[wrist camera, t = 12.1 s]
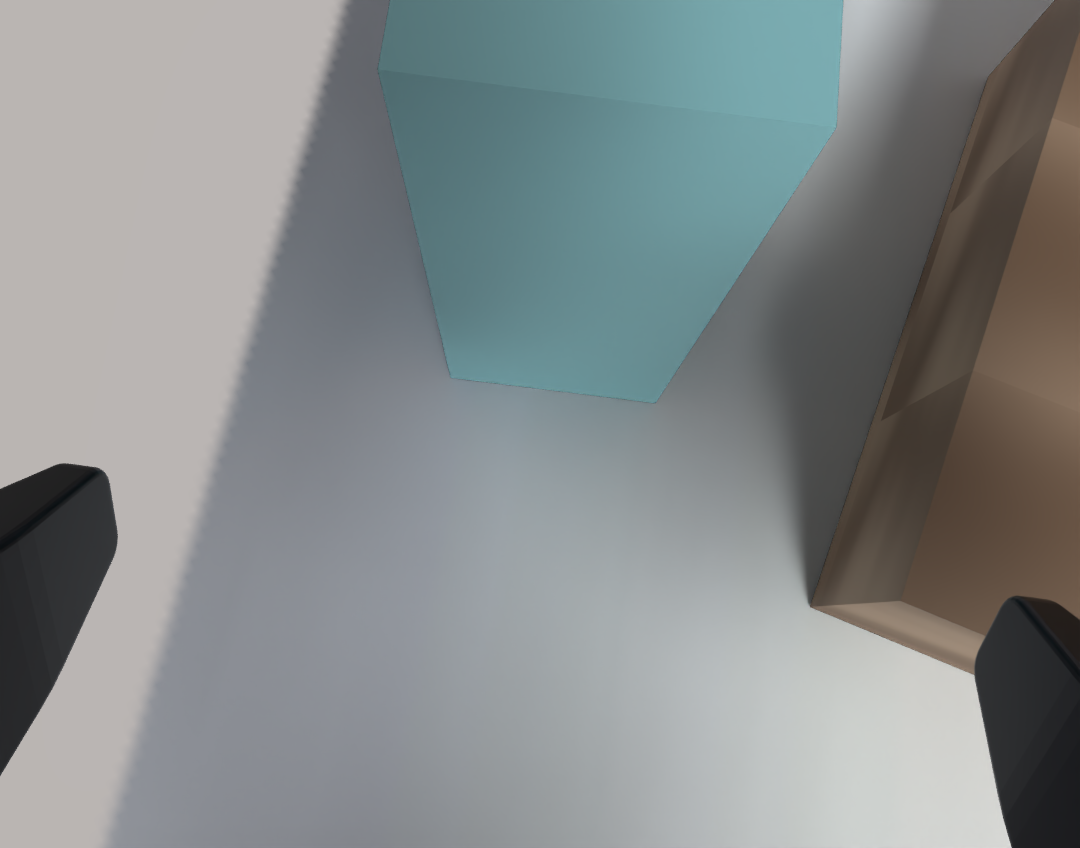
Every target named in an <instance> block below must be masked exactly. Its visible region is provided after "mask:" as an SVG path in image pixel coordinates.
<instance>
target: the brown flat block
mask: <svg viewBox="0 0 1080 848" xmlns="http://www.w3.org/2000/svg"><path fill="white" fill-rule="evenodd" d="M1017 595H1019V596H1026V597H1033V598H1041V599H1048V600H1052V601H1054V602H1057V603H1058V604H1060V605H1061V606H1063V607H1064V608H1065V609H1067V610H1068V611H1069V612H1070V613H1072V614H1073V615H1074V616H1076V617H1077V618H1078V619H1080V0H1055V1H1054V2H1053V3H1052V4H1051V5H1050V6H1049V7H1048V9H1047V10H1046V11H1045V12H1044V13H1043V14H1042V15H1041V17H1040V18H1039V19H1038V20H1037V21H1036V22H1035V24H1034V25H1033V26H1032V27H1031V28H1030V29H1029V30H1028V32H1027V33H1026V34H1025V35H1024V36H1023V37H1022V38H1021V40H1020V41H1019V42H1018V43H1017V44H1016V45H1015V46H1014V48H1013V49H1012V50H1011V51H1010V52H1009V53H1008V55H1007V56H1006V57H1005V58H1004V59H1003V60H1002V61H1001V63H1000V64H999V65H998V66H997V67H996V68H995V69H994V71H993V72H992V73H991V74H990V75H989V76H988V79H987V82H986V85H985V88H984V91H983V94H982V97H981V100H980V103H979V106H978V109H977V112H976V115H975V118H974V121H973V124H972V127H971V130H970V133H969V136H968V139H967V141H966V144H965V147H964V150H963V153H962V156H961V159H960V162H959V165H958V168H957V171H956V174H955V177H954V180H953V183H952V186H951V189H950V192H949V195H948V198H947V201H946V204H945V207H944V210H943V213H942V216H941V219H940V222H939V225H938V228H937V231H936V234H935V237H934V240H933V243H932V246H931V248H930V251H929V254H928V257H927V260H926V263H925V266H924V269H923V272H922V275H921V278H920V281H919V284H918V287H917V290H916V293H915V296H914V299H913V302H912V305H911V308H910V311H909V314H908V317H907V320H906V323H905V326H904V329H903V332H902V335H901V338H900V341H899V344H898V347H897V350H896V353H895V355H894V358H893V361H892V364H891V367H890V370H889V373H888V376H887V379H886V382H885V385H884V388H883V391H882V394H881V397H880V400H879V403H878V406H877V409H876V412H875V415H874V418H873V421H872V424H871V427H870V430H869V433H868V436H867V439H866V442H865V445H864V448H863V451H862V454H861V457H860V460H859V462H858V465H857V468H856V471H855V474H854V477H853V480H852V483H851V486H850V489H849V492H848V495H847V498H846V501H845V504H844V507H843V510H842V513H841V516H840V519H839V522H838V525H837V528H836V531H835V534H834V537H833V540H832V543H831V546H830V549H829V552H828V555H827V558H826V561H825V564H824V567H823V569H822V572H821V575H820V578H819V581H818V584H817V587H816V590H815V593H814V596H813V599H812V602H811V605H810V607H811V608H814V609H816V610H819V611H821V612H824V613H826V614H828V615H831V616H833V617H836V618H838V619H840V620H843V621H845V622H848V623H850V624H853V625H855V626H857V627H860V628H862V629H865V630H867V631H869V632H872V633H874V634H877V635H879V636H882V637H884V638H886V639H889V640H891V641H894V642H896V643H899V644H901V645H903V646H906V647H908V648H911V649H913V650H915V651H918V652H920V653H923V654H925V655H928V656H930V657H932V658H935V659H937V660H940V661H942V662H944V663H947V664H949V665H952V666H954V667H957V668H959V669H961V670H964V671H966V672H969V673H971V674H973V675H974V665H975V659H976V655H977V652H978V650H979V648H980V646H981V644H982V642H983V640H984V638H985V636H986V634H987V632H988V630H989V628H990V627H991V625H992V623H993V621H994V619H995V617H996V615H997V613H998V611H999V609H1000V607H1001V606H1002V604H1003V603H1004V601H1006V600H1007V599H1008V598H1010V597H1012V596H1017Z"/></svg>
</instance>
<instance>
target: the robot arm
mask: <svg viewBox="0 0 1080 848" xmlns="http://www.w3.org/2000/svg"><path fill="white" fill-rule="evenodd" d="M117 535H118V534H117V526H116V520H115V514H114V508H113V502H112V495H111V490H110V483H109V480H108V477H107V475H106V474H105V472H103V471H102V470H100V469H99V468H96V467H89V466H82V465H75V464H58V465H55V466H53V467H50V468H48V469H46V470H43V471H41V472H39V473H36V474H34V475H32V476H29V477H27V478H25V479H22V480H20V481H18V482H15V483H13V484H11V485H8V486H6V487H4V488H2V489H0V775H1V774H2V772H3V770H4V769H5V767H6V765H7V764H8V762H9V760H10V759H11V757H12V756H13V754H14V752H15V751H16V749H17V747H18V746H19V744H20V742H21V741H22V739H23V737H24V735H25V734H26V732H27V731H28V729H29V727H30V726H31V724H32V723H33V721H34V719H35V718H36V716H37V714H38V712H39V711H40V709H41V707H42V706H43V704H44V702H45V700H46V699H47V697H48V695H49V693H50V692H51V690H52V688H53V686H54V684H55V682H56V680H57V678H58V676H59V674H60V672H61V670H62V668H63V666H64V664H65V662H66V660H67V657H68V655H69V653H70V651H71V649H72V647H73V645H74V642H75V640H76V638H77V636H78V634H79V631H80V629H81V627H82V625H83V623H84V621H85V618H86V616H87V614H88V612H89V610H90V608H91V605H92V603H93V601H94V599H95V597H96V595H97V592H98V590H99V588H100V586H101V584H102V581H103V579H104V577H105V575H106V573H107V570H108V569H109V566H110V564H111V562H112V560H113V557H114V554H115V551H116V547H117V538H118V536H117ZM974 675H975V682H976V687H977V692H978V697H979V702H980V707H981V712H982V717H983V722H984V727H985V732H986V737H987V742H988V747H989V752H990V757H991V762H992V768H993V773H994V778H995V783H996V788H997V793H998V797H999V802H1000V806H1001V810H1002V815H1003V819H1004V822H1005V826H1006V829H1007V833H1008V836H1009V840H1010V843H1011V847H1012V848H1080V619H1078V618H1077V617H1076V616H1074V615H1073V614H1072V613H1070V612H1069V611H1068V610H1067V609H1065V608H1064V607H1063V606H1061V605H1060V604H1058V603H1057V602H1054V601H1052V600H1048V599H1041V598H1033V597H1026V596H1019V595H1017V596H1012V597H1010V598H1008V599H1007V600H1006V601H1004V603H1003V604H1002V606H1001V607H1000V609H999V611H998V613H997V615H996V617H995V619H994V621H993V623H992V625H991V627H990V628H989V630H988V632H987V634H986V636H985V638H984V640H983V642H982V644H981V646H980V648H979V650H978V652H977V655H976V659H975V665H974Z"/></svg>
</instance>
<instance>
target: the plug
mask: <svg viewBox="0 0 1080 848" xmlns="http://www.w3.org/2000/svg"><path fill="white" fill-rule="evenodd" d="M842 14H843V0H390V3H389V8H388V14H387V19H386V25H385V31H384V36H383V42H382V47H381V53H380V59H379V64H378V74H379V78H380V82H381V86H382V90H383V95H384V99H385V103H386V107H387V112H388V116H389V120H390V124H391V128H392V133H393V137H394V141H395V145H396V150H397V154H398V158H399V162H400V166H401V171H402V175H403V179H404V183H405V187H406V192H407V196H408V200H409V204H410V209H411V213H412V217H413V221H414V225H415V230H416V234H417V238H418V242H419V247H420V251H421V255H422V259H423V263H424V268H425V272H426V276H427V280H428V285H429V289H430V293H431V297H432V301H433V306H434V310H435V314H436V318H437V323H438V327H439V331H440V335H441V339H442V344H443V348H444V352H445V356H446V361H447V365H448V369H449V373H450V377H451V378H457V379H465V380H473V381H481V382H489V383H497V384H505V385H513V386H521V387H529V388H537V389H545V390H553V391H561V392H569V393H577V394H585V395H593V396H601V397H609V398H617V399H626V400H634V401H642V402H650V403H656V402H657V400H658V399H659V397H660V396H661V394H662V393H663V391H664V389H665V388H666V386H667V385H668V383H669V382H670V380H671V379H672V377H673V376H674V374H675V373H676V371H677V370H678V368H679V367H680V365H681V364H682V362H683V361H684V359H685V357H686V356H687V354H688V353H689V351H690V350H691V348H692V347H693V345H694V344H695V342H696V341H697V339H698V338H699V336H700V335H701V333H702V332H703V330H704V329H705V327H706V325H707V324H708V322H709V321H710V319H711V318H712V316H713V315H714V313H715V312H716V310H717V309H718V307H719V306H720V304H721V303H722V301H723V300H724V298H725V297H726V295H727V293H728V292H729V290H730V289H731V287H732V286H733V284H734V283H735V281H736V280H737V278H738V277H739V275H740V274H741V272H742V271H743V269H744V268H745V266H746V265H747V263H748V262H749V260H750V258H751V257H752V255H753V254H754V252H755V251H756V249H757V248H758V246H759V245H760V243H761V242H762V240H763V239H764V237H765V236H766V234H767V233H768V231H769V230H770V228H771V226H772V225H773V223H774V222H775V220H776V219H777V217H778V216H779V214H780V213H781V211H782V210H783V208H784V207H785V205H786V204H787V202H788V201H789V199H790V198H791V196H792V194H793V193H794V191H795V190H796V188H797V187H798V185H799V184H800V182H801V181H802V179H803V178H804V176H805V175H806V173H807V172H808V170H809V169H810V167H811V166H812V164H813V163H814V161H815V159H816V158H817V156H818V155H819V153H820V152H821V150H822V149H823V147H824V146H825V144H826V143H827V141H828V140H829V138H830V137H831V135H832V134H833V132H834V131H835V129H836V127H837V108H838V89H839V70H840V51H841V32H842Z"/></svg>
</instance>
